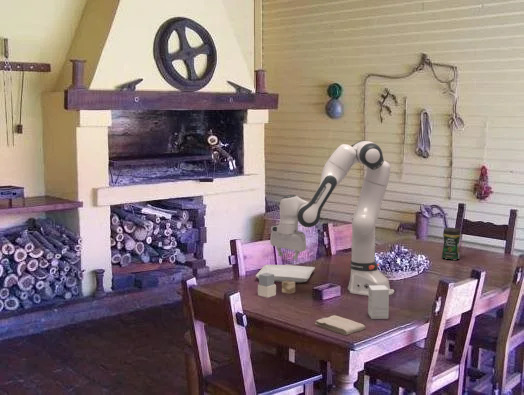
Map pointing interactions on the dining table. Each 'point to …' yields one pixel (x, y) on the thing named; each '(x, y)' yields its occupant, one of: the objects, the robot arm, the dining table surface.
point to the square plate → (287, 272)
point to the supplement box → (378, 302)
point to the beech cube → (288, 287)
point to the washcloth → (340, 325)
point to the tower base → (267, 291)
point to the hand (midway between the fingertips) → (287, 257)
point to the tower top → (266, 279)
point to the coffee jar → (451, 243)
